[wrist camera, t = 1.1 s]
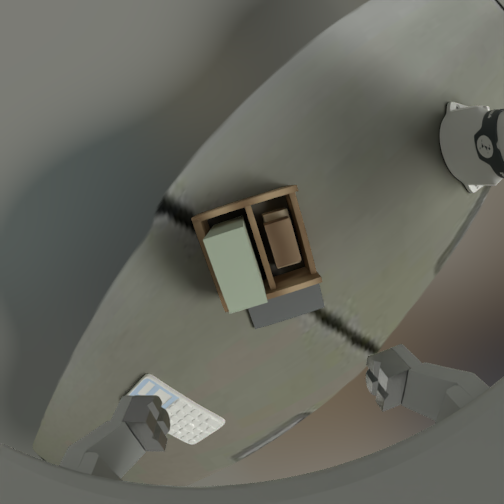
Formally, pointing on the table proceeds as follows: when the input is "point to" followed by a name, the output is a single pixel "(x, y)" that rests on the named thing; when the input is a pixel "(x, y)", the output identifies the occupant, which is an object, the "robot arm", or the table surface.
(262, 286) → the sage green thick block
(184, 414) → the calculator
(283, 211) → the offcut lower
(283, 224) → the offcut upper
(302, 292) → the mat
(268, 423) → the table surface
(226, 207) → the rack
